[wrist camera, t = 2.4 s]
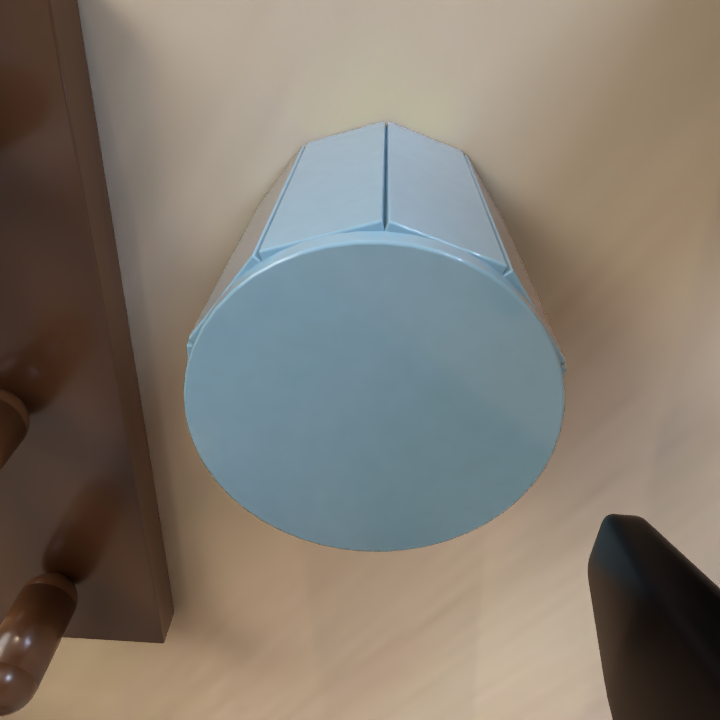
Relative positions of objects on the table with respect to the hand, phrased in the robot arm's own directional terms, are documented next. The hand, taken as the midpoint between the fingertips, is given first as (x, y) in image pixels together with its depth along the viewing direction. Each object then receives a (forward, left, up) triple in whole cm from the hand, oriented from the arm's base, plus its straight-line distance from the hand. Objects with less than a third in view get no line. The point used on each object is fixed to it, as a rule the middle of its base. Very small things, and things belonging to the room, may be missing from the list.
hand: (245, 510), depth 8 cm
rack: (+9, +6, -12) cm, 16 cm away
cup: (-2, +1, -12) cm, 12 cm away
